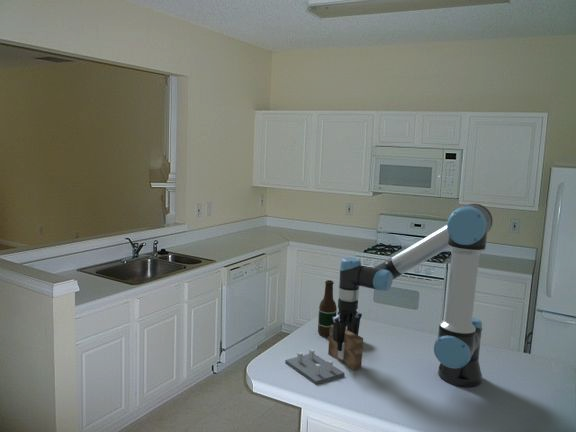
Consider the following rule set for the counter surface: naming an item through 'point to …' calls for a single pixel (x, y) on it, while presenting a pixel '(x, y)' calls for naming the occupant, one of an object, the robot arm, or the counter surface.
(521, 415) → the counter surface
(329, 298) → the beer bottle
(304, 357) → the board
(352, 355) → the brown wooden board
